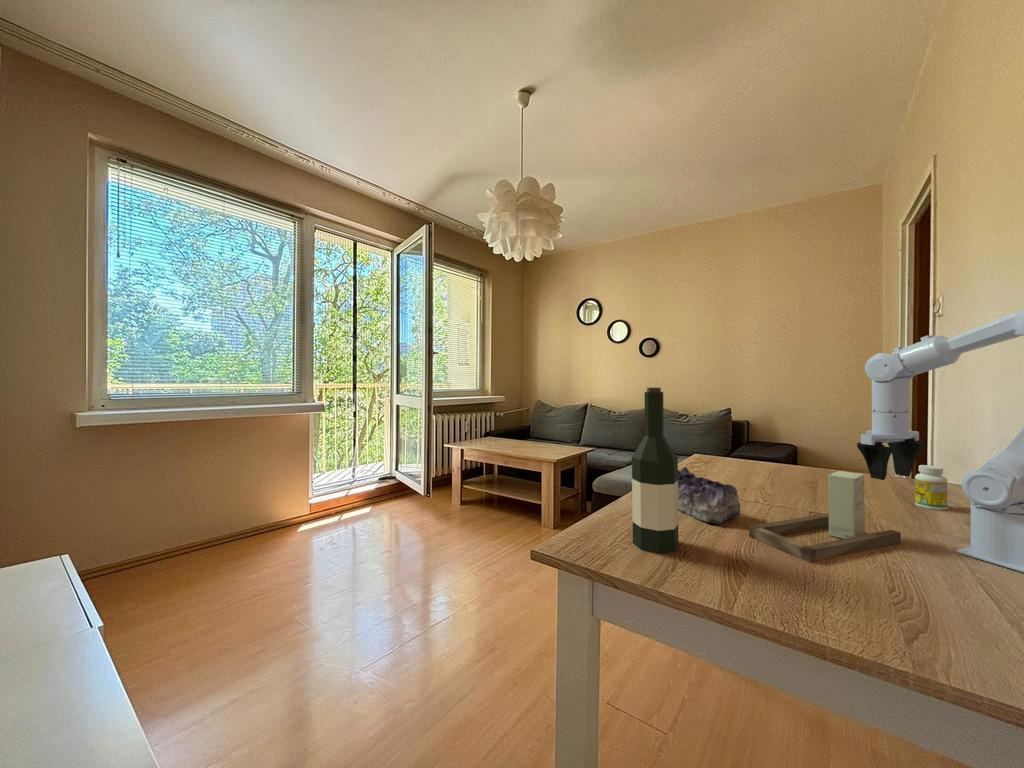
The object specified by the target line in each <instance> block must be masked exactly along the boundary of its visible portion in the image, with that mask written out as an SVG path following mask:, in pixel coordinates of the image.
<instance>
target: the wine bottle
mask: <svg viewBox="0 0 1024 768" xmlns="http://www.w3.org/2000/svg"><path fill="white" fill-rule="evenodd" d="M664 411H665V410H664V391H662V388H661V387H646V391H644V437H643V438H642V439H641V441H640V442H639V444H638V447H637V448H636V450H635V451H634V453H633V455H632V456H631V494H632V495H631V496H632V498H631V501H632V502H631V503H632V507H631V508H632V513H631V514H632V544H634V545H635V546H636V547H637V548H639V549H640V550H642V551H645V552H649V553H655V554H666V553H667V554H669V553H674V552H676V550H677V549H678V548H679V510H678V470H679V458H678V456H677V455H676V453H675V452H674V450H673V448H672V447H671V445H670V444H669V442H668V441H667V439H666V437H665V435H664V434H665V433H664V432H665V431H664V423H665V420H664V419H665V418H664V416H665V415H664Z"/></svg>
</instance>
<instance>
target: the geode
mask: <svg viewBox="0 0 1024 768" xmlns="http://www.w3.org/2000/svg"><path fill="white" fill-rule="evenodd" d="M678 511H680V512H682V513H684V514H686V515H687V516H688V517H693V519H697V520H700V521H702V522H706V523H712V524H713V525H720V524H722V523H724V522H726V521H727V520H728V519H732V518H734V517H738V516H739V515H741V502H740V500H739V494H738V490H737V488H736V486H734V485H732V484H724V483H722V482H720V481H717V480H716V481H714V480H710V479H709V478H704V477H700V476H699V477H697V476H696V474H695V473H692V472H690V470H689V469H688V468H687V467H686V466H684V467H683V468H682V469H681V470H679V469H678Z"/></svg>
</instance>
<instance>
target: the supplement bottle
mask: <svg viewBox="0 0 1024 768" xmlns="http://www.w3.org/2000/svg"><path fill="white" fill-rule="evenodd" d="M918 472H919V473H917V474H915V476H914V504H915V505H916V506H917V507H919V508H923V509H926V510H932V511H946V510H948V503H949V502H948V499H949V498H948V479H947V477H945V476H942V475H943V474H944V468H943V467H941V466H937V465H929V464H928V465H926V464H920V465H918Z"/></svg>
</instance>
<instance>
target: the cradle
mask: <svg viewBox="0 0 1024 768" xmlns="http://www.w3.org/2000/svg"><path fill="white" fill-rule="evenodd" d="M826 527H829V512H827V513H822V514H815V515H809V516H804V517H803V516H802V517H797V518H792V519H791V518H790V519H785V520H778V521H772V522H766V523H761V524H754V525H749V526H748V536H749V537H750V538H752V539H755V540H757V541H759V542H761V543H763V544H766V545H769V546H771V547H773V548H775V549H778V550H780V551H781V552H782V551H783V552H785V553H787V554H790V555H792V556H794V557H796V558H799V559H800V560H803V561H806V562H808V563H811V562H817V561H822V560H826V559H831V558H834V557H835V558H836V557H840V556H845V555H850V554H851V555H852V554H855V553H861V552H864V551H869V550H873V549H878V548H883V547H888V546H893V545H897V544H901V542H902V540H901V539H902V532H900V531H897V530H894V529H887V530H882V531H877V532H876V531H875V532H872V533H868V534H866V533H865V535H861V536H856V537H850V538H845V539H842V538H839V539H835V540H831V541H826V542H821V543H816V544H815V543H814V544H810V545H805V544H803V543H801V542H799V541H795V540H793V539H790V538H788V537H785V536H783V535H787V534H792V533H798V532H803V531H808V530H815V529H819V528H826Z"/></svg>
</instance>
